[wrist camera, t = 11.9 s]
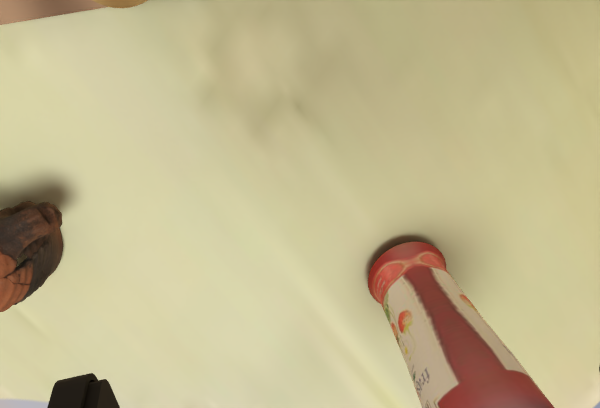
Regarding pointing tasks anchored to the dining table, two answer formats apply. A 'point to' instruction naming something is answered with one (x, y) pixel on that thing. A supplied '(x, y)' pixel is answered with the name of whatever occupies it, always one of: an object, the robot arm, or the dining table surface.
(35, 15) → the carrier board
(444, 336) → the liquor
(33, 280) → the brown creature figurine
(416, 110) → the dining table surface
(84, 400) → the robot arm
